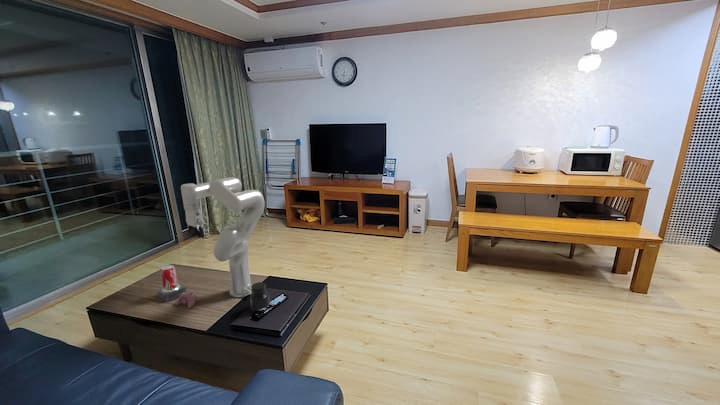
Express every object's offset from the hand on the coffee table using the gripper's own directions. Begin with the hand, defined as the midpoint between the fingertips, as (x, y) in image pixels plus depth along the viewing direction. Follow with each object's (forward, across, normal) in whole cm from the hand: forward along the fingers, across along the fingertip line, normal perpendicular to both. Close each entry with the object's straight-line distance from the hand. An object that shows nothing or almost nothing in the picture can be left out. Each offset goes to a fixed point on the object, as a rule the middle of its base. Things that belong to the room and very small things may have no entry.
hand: (196, 235), depth 170 cm
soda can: (+24, -1, +18) cm, 30 cm away
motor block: (+28, +1, +18) cm, 34 cm away
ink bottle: (+28, -51, -1) cm, 58 cm away
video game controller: (+29, -17, +18) cm, 38 cm away
